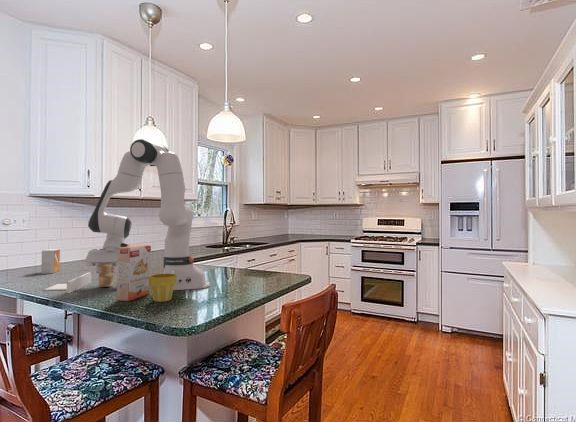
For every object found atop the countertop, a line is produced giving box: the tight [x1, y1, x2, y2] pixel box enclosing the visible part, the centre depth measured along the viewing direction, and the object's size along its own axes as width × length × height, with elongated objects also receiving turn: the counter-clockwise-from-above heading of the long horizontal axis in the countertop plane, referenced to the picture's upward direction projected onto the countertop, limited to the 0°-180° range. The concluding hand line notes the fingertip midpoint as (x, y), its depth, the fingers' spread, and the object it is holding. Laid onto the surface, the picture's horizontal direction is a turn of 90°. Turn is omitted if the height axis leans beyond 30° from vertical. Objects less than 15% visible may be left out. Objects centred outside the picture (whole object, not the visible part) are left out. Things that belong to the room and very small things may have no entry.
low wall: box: [66, 272, 92, 294], centre depth 159 cm, size 1×24×5 cm, turn 10°
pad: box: [43, 283, 67, 292], centre depth 159 cm, size 11×12×1 cm
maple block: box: [98, 264, 114, 288], centre depth 161 cm, size 5×4×10 cm
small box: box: [40, 248, 61, 274], centre depth 199 cm, size 8×6×13 cm
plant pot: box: [149, 273, 176, 303], centre depth 138 cm, size 10×10×10 cm
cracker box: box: [116, 244, 152, 302], centre depth 142 cm, size 14×6×21 cm, turn 168°
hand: (105, 272), depth 161 cm, fingers closed on maple block, 5 cm apart
